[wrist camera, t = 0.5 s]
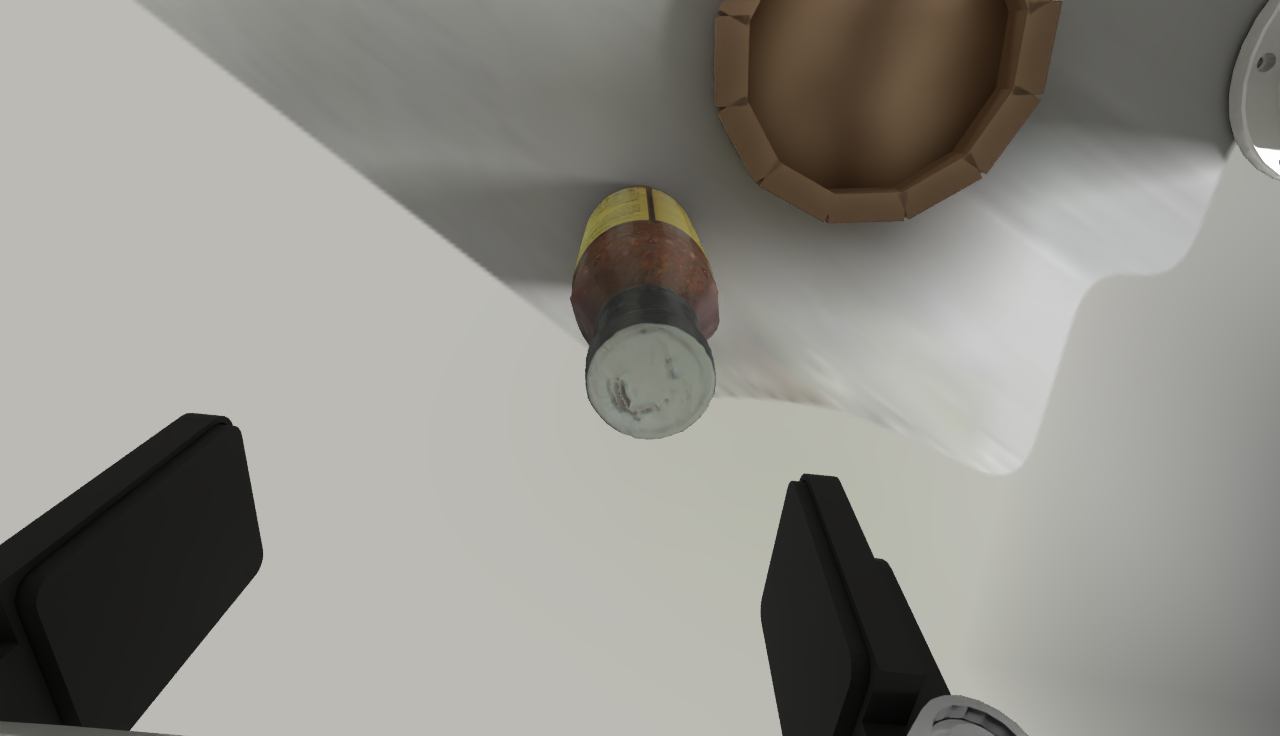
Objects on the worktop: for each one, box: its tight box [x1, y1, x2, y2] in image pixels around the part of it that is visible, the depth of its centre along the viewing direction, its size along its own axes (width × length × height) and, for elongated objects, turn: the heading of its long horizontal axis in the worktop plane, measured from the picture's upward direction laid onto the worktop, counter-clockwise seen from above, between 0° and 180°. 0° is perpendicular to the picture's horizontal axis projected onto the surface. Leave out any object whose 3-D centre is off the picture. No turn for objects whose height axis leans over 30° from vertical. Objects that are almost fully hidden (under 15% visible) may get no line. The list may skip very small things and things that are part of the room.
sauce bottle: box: [570, 186, 719, 439], centre depth 28 cm, size 6×6×20 cm
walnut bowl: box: [713, 0, 1062, 223], centre depth 32 cm, size 16×16×3 cm
